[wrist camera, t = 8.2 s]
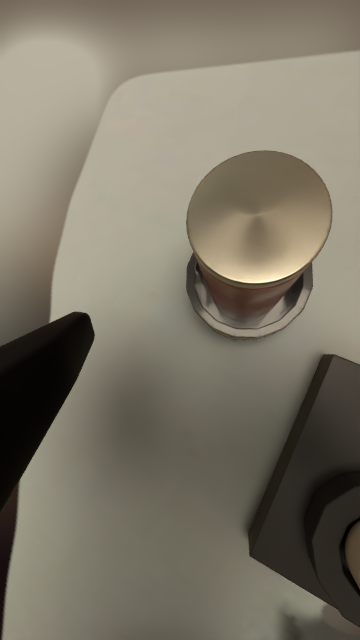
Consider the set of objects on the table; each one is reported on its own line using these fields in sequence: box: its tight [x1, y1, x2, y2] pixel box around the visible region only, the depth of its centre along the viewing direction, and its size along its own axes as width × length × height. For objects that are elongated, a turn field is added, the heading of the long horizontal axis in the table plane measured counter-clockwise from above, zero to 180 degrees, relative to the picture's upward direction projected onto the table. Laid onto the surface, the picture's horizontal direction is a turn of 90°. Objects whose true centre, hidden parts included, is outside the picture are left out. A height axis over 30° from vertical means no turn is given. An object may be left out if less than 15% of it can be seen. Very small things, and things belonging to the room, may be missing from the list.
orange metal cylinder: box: [186, 151, 332, 322], centre depth 13 cm, size 4×4×10 cm
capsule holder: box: [186, 252, 313, 341], centre depth 17 cm, size 7×7×4 cm
